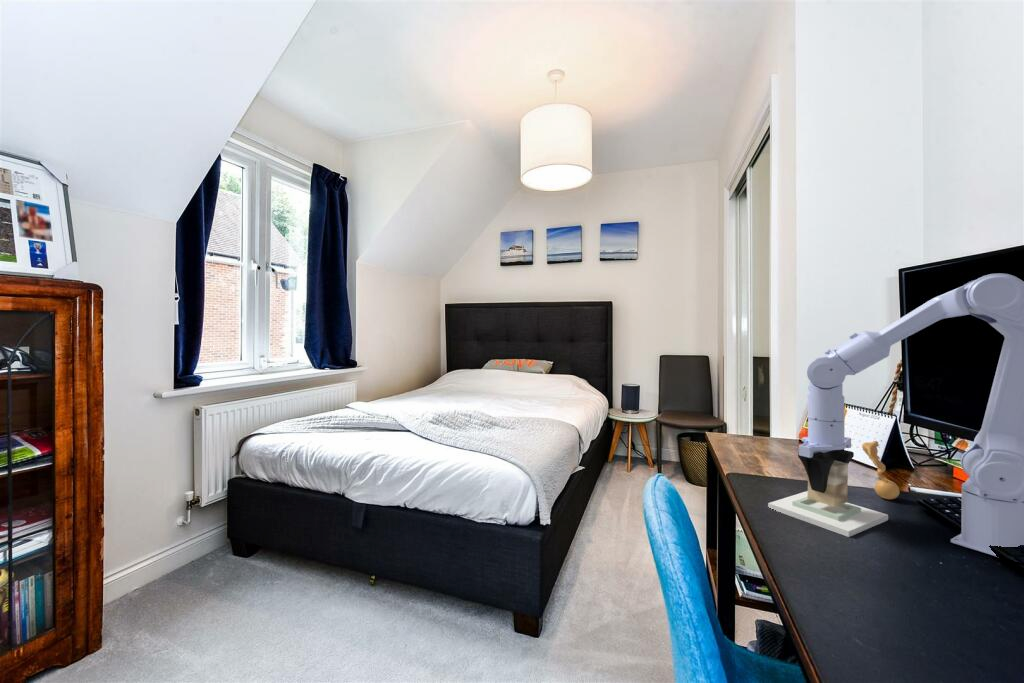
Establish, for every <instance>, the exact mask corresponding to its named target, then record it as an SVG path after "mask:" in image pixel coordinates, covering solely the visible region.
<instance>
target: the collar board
mask: <svg viewBox="0 0 1024 683" xmlns="http://www.w3.org/2000/svg"><path fill="white" fill-rule="evenodd" d="M768 507H769V508H771V509H770V510H772V509H774V510H773V511H775V510H776V512H778V513H780V512H781V514H784V515H787V516H789V517H792V518H794V519H798V520H800V521H803V522H805V523H808V524H811V525H814V526H817V527H820V528H823V529H825V530H828V531H831V532H833V533H836V534H839V535H842V536H845V537H847V538H850V537H853V536H855V535H857V534H859V533H862V532H863V531H866V530H868V529H871V528H872V527H876V526H877V525H880V524H882V523H885V522H887V521H888V520H889V514H887V513H883V512H881V511H877V510H873V509H870V508H867V507H863V506H859V505H858V504H857V505H856V504H853V503H850V502H848V501H847V502H846V503H844V504H841V505H838V506H835V507H833V506H830V505H827V504H824V503H821V502H818V501H815V500H812V499H809V498H808V490H806V491H803V492H799V493H797V494H794V495H793V494H792V495H790V496H787V497H784V498H780V499H777V500H774V501H770V502H768V503H767V508H768ZM769 508H768V509H769Z"/></svg>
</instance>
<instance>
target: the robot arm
mask: <svg viewBox="0 0 1024 683" xmlns="http://www.w3.org/2000/svg"><path fill="white" fill-rule="evenodd" d="M967 315H971V316H972V317H976V318H977V319H980V320H983V321H985V322H987V323H988V325H990V326H991V327H992V328H994V329H995V330H996V331H997V332H999V333H1000V334H1001V335H1003V338H1004V340H1003V343H1002V346H1001V351H1000V355H999V359H998V363H997V367H996V371H995V375H994V378H993V382H992V384H991V385H992V386H991V389H990V393H989V397H988V402H987V404H986V409H985V413H984V417H983V420H982V424H981V428H980V430H979V431H978V433H977V434H976V435H975V437H974V440H973V443H972V445H971V447H970V448H969V449H967V450H966V451H964V452H963V454H962V456H961V457H960V458H961V459H960V467H961V470H962V471H963V472H964V473H965V475H967V476H968V478H967V479H966V481H965V482H963V483H962V484H961V532H960V534H957V535H956V536H954V537H953V538H950V543H952V544H955V545H958V546H961V547H964V548H967V549H971V550H974V551H978V552H981V553H984V554H988V555H991V556H994V557H997V556H996V554H995V553H994V552H993V551H992V550H991V548H990V547H989V546H990V545H991V546H998V547H999V546H1001V547H1018V546H1020V545H1024V281H1023V280H1022V279H1020V278H1018V277H1017V276H1015V275H1012V274H1009V273H1000V272H999V273H990V274H987V275H986V274H985V275H982V276H981V277H978V278H977V279H974V280H973V279H972V280H971V281H968V282H967V283H964V284H963V285H962V286H959V287H957V288H955V289H952V290H949V291H947V292H945V293H943V294H940V295H937V296H935V297H933V298H931V299H930V300H927V301H925V303H924V302H923V304H922V305H920V306H918V307H916V308H915V309H913V310H911V311H910V312H908V313H907V314H905V315H903V316H902V317H900V318H899V319H897V320H895V321H894V322H892V323H890V324H889V325H886V327H884V328H882V329H881V330H879V331H868V330H867V331H866V330H864V331H862V332H859V333H857V332H854V333H852V334H850V335H849V336H848V338H849V339H848V340H847V341H845V342H844V343H841V344H840V345H838V346H837V347H835V348H833V349H832V350H831V349H830V348H829V349H826V350H825V351H824V353H823V354H825V356H821V357H817V358H815V360H813V361H812V362H811V363H810V364H809V365H808V366H807V369H806V375H807V378H808V381H809V383H808V387H807V388H808V390H807V391H808V395H807V436H804V437H802V438H801V442H803V443H802V444H798V452H797V457H798V460H800V462H801V464H802V465H803V467H804V469H805V471H806V475H807V479H808V478H809V482H810V485H811V489H812V490H814V491H818V492H821V493H825V491H826V488H827V481H828V475H829V471H830V468H831V466H832V464H833V462H834V461H835V460H836V461H840V462H844V463H848V465H849V464H850V462H851V461H852V459H853V458H854V456H855V455H854V454H855V453H854V451H851V450H846V449H851V448H852V437H851V438H850V437H847V436H845V396H844V393H843V383H844V381H845V380H846V376H856V375H857V374H859V373H861V372H862V371H863V372H864V370H866V369H868V368H870V367H872V366H874V365H875V364H877V363H879V362H880V361H882V360H885V359H886V358H888V357H889V356H890V353H891V352H890V351H891V347H892V346H893V345H896V344H897V343H899V342H901V341H902V340H903V341H904V339H906V338H908V337H909V336H910V337H911V336H912V335H914V334H916V333H918V332H919V331H921V330H924V329H926V328H927V327H930V326H931V325H933V324H934V323H936V322H939V321H941V320H944V319H948V318H949V319H950V318H955V317H956V318H957V317H962V316H967ZM997 558H998V557H997Z"/></svg>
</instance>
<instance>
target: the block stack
mask: <svg viewBox="0 0 1024 683" xmlns="http://www.w3.org/2000/svg"><path fill="white" fill-rule="evenodd" d="M848 476H849V464H848V463H844V462H840V461H836V460H835V461H834V462H833V464H832V466H831V468H830V471H829V475H828V481H827V488H826V491H825V493H821V492H818V491H814V490H812V489H811V485H810V482H809V478H808V477H807V491H808V498H809V499H812V500H815V501H818V502H821V503H824V504H827V505H830V506H833V507H835V506H838V505H841V504H844V503H846V502H847V503H848V483H849V481H848V480H849V479H848V478H849V477H848Z"/></svg>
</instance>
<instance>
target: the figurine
mask: <svg viewBox="0 0 1024 683" xmlns="http://www.w3.org/2000/svg"><path fill="white" fill-rule="evenodd" d="M861 445H862V446H861V448H862V451H863V452H864V453H865V454H866V456H868V459H869V460H871V461H872V464H873V465H874V466H876V468H877V473H876V474H877V476H878V478H880V480H877V481H876V482H875V484H874V485H873V487H874V491H875V493H876V494H877V495H878V497H880V498H882V499H885V500H895V499H896V498H898V496H899V495H900V488H899V486H898V485H897V484H896V483H895V482H894V481H892V480H889V478H887V477H885V476H884V475H882V474H883V473H884V472H886V465H885V464H884V463H883V462H882V461H881V457H880V456H879V455H878V452H879V451H878V447H879V446H880V444H879V442H878V441H877V440H874V441H872V442H871V441H870V442H863V443H862V444H861Z"/></svg>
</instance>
